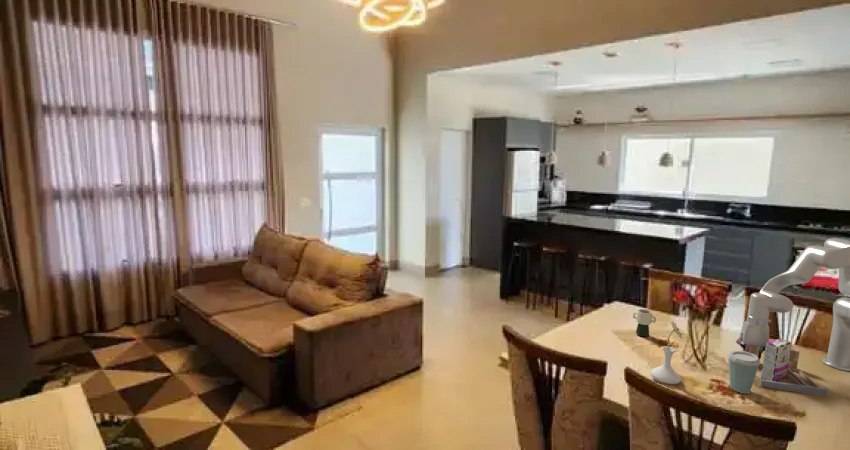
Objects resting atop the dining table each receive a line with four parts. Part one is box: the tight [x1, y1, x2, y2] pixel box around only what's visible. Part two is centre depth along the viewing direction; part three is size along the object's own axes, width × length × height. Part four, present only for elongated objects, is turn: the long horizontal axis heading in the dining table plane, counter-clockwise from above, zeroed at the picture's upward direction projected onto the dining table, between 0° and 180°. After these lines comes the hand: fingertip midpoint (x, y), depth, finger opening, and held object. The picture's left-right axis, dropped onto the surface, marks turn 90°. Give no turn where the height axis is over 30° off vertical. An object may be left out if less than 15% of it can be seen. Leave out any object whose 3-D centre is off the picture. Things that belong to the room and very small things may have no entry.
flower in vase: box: [650, 320, 683, 385], centre depth 189 cm, size 13×11×25 cm
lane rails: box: [759, 369, 829, 397], centre depth 194 cm, size 23×21×2 cm
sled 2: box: [788, 347, 822, 388], centre depth 195 cm, size 5×22×9 cm, turn 165°
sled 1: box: [748, 345, 804, 386], centre depth 198 cm, size 16×22×10 cm
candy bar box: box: [760, 338, 793, 382], centre depth 194 cm, size 11×5×16 cm, turn 117°
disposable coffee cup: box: [727, 350, 761, 394], centre depth 183 cm, size 11×11×15 cm
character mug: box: [632, 308, 657, 337], centre depth 237 cm, size 11×7×13 cm, turn 54°
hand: (751, 358), depth 208 cm, fingers closed on sled 1, 4 cm apart
